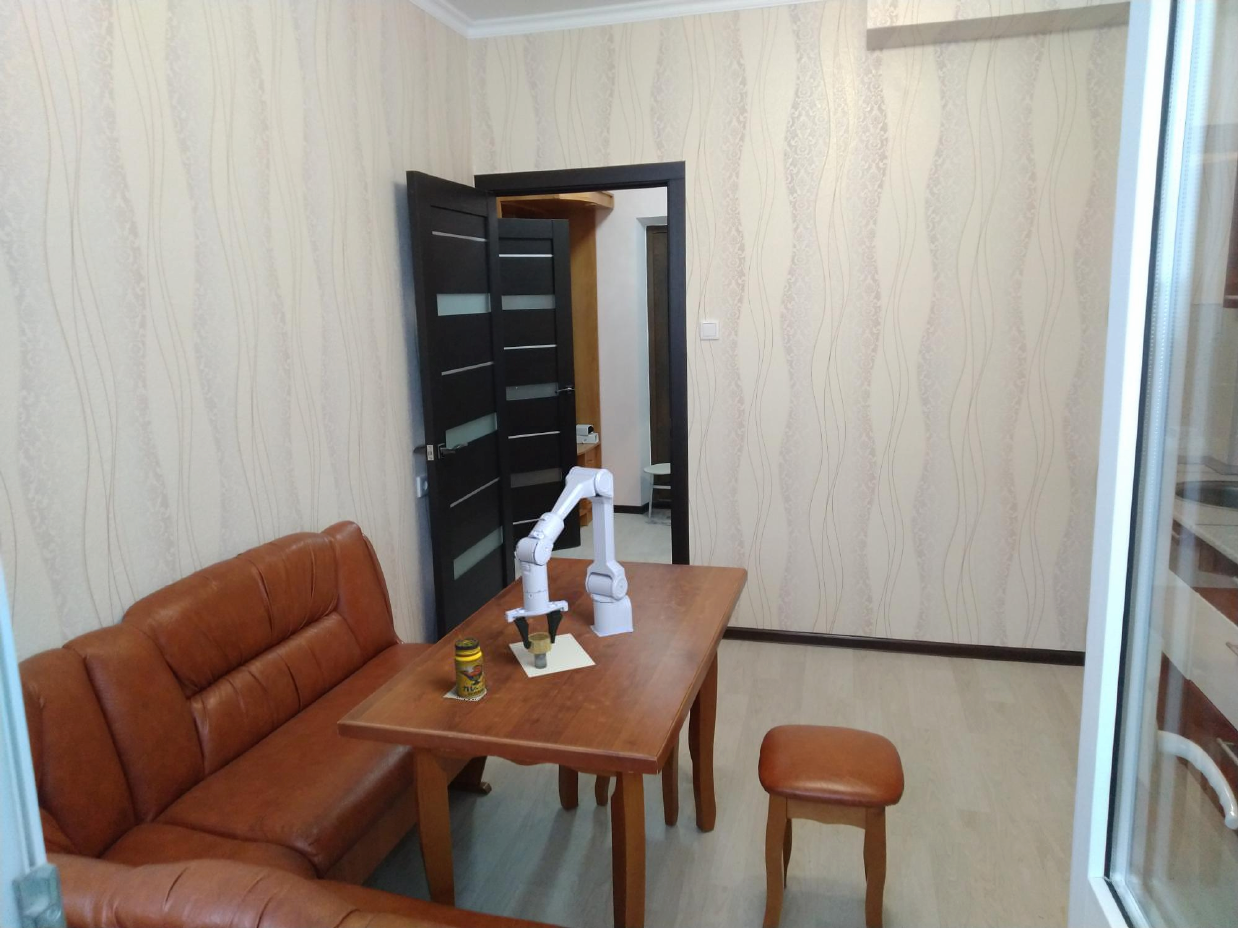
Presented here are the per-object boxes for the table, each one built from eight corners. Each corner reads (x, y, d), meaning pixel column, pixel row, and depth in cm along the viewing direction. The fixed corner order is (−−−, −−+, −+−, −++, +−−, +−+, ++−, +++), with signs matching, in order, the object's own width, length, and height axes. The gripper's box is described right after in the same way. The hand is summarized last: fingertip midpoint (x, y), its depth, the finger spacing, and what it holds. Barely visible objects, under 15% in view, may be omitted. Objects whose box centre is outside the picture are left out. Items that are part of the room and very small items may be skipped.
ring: (547, 642, 202) (546, 630, 201) (555, 650, 197) (554, 638, 196) (524, 647, 199) (523, 635, 199) (531, 655, 194) (531, 643, 194)
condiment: (477, 701, 184) (473, 649, 181) (442, 697, 186) (438, 646, 184) (492, 686, 190) (488, 636, 188) (458, 683, 193) (454, 633, 191)
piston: (545, 662, 200) (543, 644, 200) (548, 667, 198) (547, 649, 197) (533, 665, 200) (532, 647, 199) (536, 669, 197) (535, 651, 196)
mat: (570, 635, 218) (570, 633, 218) (595, 666, 199) (595, 664, 198) (508, 646, 213) (508, 644, 213) (529, 679, 193) (528, 676, 193)
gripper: (559, 578, 202) (562, 632, 204) (500, 589, 196) (504, 645, 198) (569, 587, 195) (573, 642, 198) (509, 598, 190) (513, 655, 192)
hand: (539, 644), depth 198 cm, fingers closed on ring, 6 cm apart
